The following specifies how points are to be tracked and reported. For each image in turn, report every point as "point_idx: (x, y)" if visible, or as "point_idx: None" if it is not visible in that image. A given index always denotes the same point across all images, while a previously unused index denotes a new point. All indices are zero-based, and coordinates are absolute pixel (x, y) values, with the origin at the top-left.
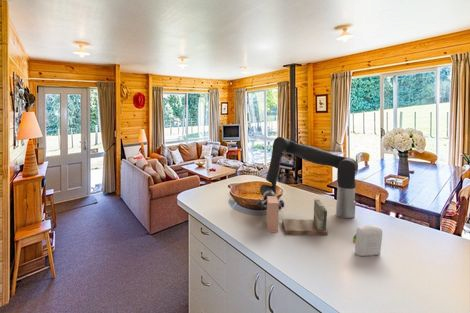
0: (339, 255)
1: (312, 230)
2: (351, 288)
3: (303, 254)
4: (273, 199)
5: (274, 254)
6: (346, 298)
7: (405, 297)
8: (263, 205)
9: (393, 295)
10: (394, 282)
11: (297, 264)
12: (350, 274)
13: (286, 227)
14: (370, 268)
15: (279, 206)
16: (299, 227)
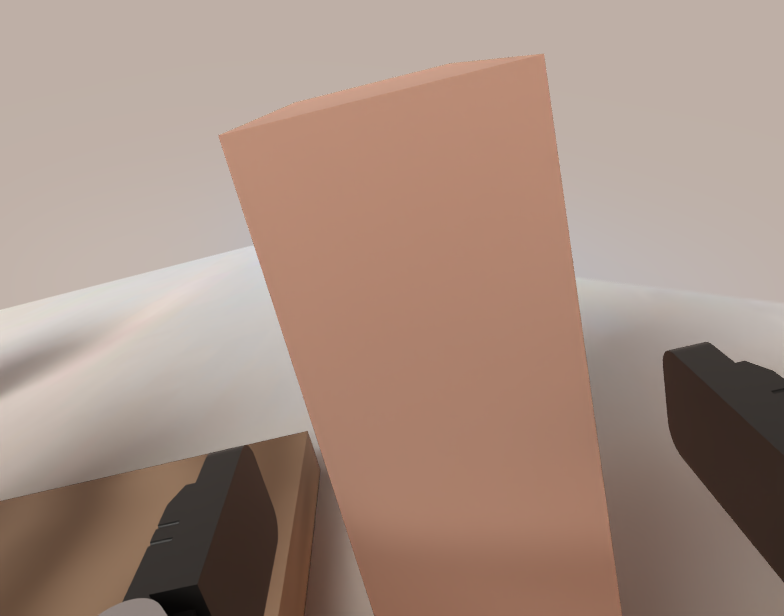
0: (71, 380)
1: (11, 507)
2: (187, 281)
3: (269, 333)
4: (357, 90)
5: None
6: (228, 259)
7: (58, 304)
8: (695, 350)
9: (85, 299)
10: (18, 332)
11: None
12: (137, 314)
13: (280, 482)
14: (20, 356)
15: (236, 450)
16: (112, 527)
